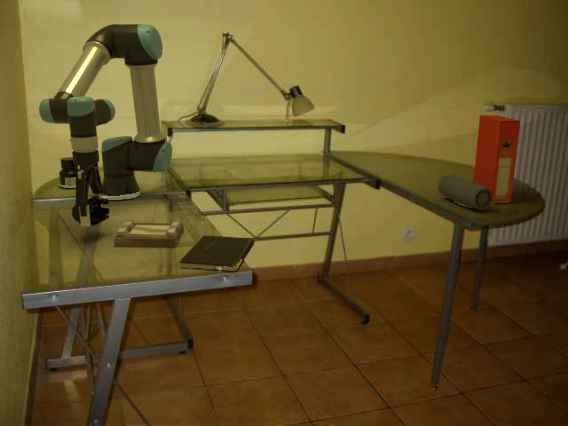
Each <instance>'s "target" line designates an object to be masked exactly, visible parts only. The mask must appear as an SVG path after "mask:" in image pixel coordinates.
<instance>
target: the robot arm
mask: <svg viewBox="0 0 568 426" xmlns="http://www.w3.org/2000/svg"><path fill="white" fill-rule="evenodd" d="M163 50H164V47H163V41H162V36H161V34H160V32H159V30H158V29H157V28H156V27H155V26H154V25H151V24H142V23H130V24H129V23H127V24H126V23H123V24H121V23H120V24H119V23H113V24H108V25H105V26H103V27H102V28H100V29H98V30H97V31H96V32H94V33H93V34H92V35H91V36H90V37H89V38H88V39H87V40H86V42H85V43H84V44H83V47H82V54H81V55H80V57H79V58H78V60H77V61H76V63H75V64H74V66H73V67H72V69H71V70H70V72H69V74H68V75H67V77H66V78H65V79H64V81H63V83H62V84H61V86H60V88H59V89H58V90H57V92H56V93H55V95H54V97H53V98H51V97H49V98H44V99H41V101H40V103H39V106H38V113H39V116H40V118H41V120H42V121H43V122H45V123H48V124H61V125H63V124H65V125H69V133H70V138H69V139H68V140H69V142H70V143H71V149H72V150H73V151H72V152H71V155H72V156H71V157H73V163H74V164H76V165H78V166H79V167H78V168H79V172H76V173H75V176H76V188H75V205H76V206H79V211H80V221H81V224H80V227H92V226H91V222H90V212H89V205H87V203H88V199H89V194H90V193H89V191H90V190H91V193H92V194H91V196H90V197H93V196H98V199H102V198H101V195H107V196H120V195H125V194H132V193H136V192H139V191H140V192H141V188H140V186H139V183H138V181H137V179H136V175H135V172H147V173H148V172H149V173H163V172H166V171H167V170H168V169H169V167H170V165H171V162H172V156H173V146H172V143H171V142H169V141H167V140H166V135H165V134H164V133H162V131H161V123H160V122H161V121H160V112H159V111H160V110H159V103H158V94H157V83H156V72H155V67H157V66H158V64H159V61H158V60H159V59H162V56H163ZM113 59H123V60H124V65H125V66H126V68H128V69H129V72H130V81H131V82H130V83H131V90H132V91H131V92H132V100H133V105H134V106H133V107H134V117H135V123H136V125H135V126H136V135H135V136H134V137H133V136H131V135H121V136H114V137H110V138H106V139H103V141H102V142H101V160H102V172H103V180H102V179H101V175H100V169H99V162H100V152H99V150H98V148H99V140H98V134H97V133H98V132H97V127H98V126H102V125H106V124H108V123H110V122H111V121H112V120H114V118H115V116H116V107H115V105H114V104H113V103H112V102H111V101H110V100H109V99H107V98H98V99H94V98H93V97H92V96H86V94H87V93H88V90H89V89H90V88H91V86H92V84H93V83H94V81H95V80H96V78H97V76H98V75H99V73H100V71H101V70H102V68H103V66H106V65H107V64H108V63H109V62H110V61H111V60H113ZM75 205H74V206H75ZM102 205H103V204H101V207H102V208H103V206H102Z"/></svg>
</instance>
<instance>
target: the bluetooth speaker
mask: <svg viewBox="0 0 568 426" xmlns="http://www.w3.org/2000/svg"><path fill="white" fill-rule="evenodd" d="M437 189H438V192H439V193H440V194H441V195H442V196H445V197H446V198H449V199H450V200H452V201H453V200H454V201H456V202H459V203H461V204H464V205H466V206H469V207H472V208H471V209H476V210H479V211H481V210H486V209H488V208H489V207H490V206H491V205H492V204H491V203H492V200H493V195H492V192H491V190H490V189H488V188H486V187H484V186H482V185H480V184H477V183H475V182H473V181H472V180H469V179H468V178H467V179H466V178H463V177H460V176H456V175H452V174H445V175H443V176H442V177H441V178H440V180H439V182H438V184H437Z"/></svg>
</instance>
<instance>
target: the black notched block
mask: <svg viewBox="0 0 568 426" xmlns="http://www.w3.org/2000/svg"><path fill="white" fill-rule="evenodd" d="M101 204H102V205H107V206H108V205H110V200H108V199H102V198H101V199H98V196H93V197H92V196H90V197H88V203H87V205H89V212H90V222H91V226H90V227H95V226H97V225H99V224H101V223H102V222H104V221H106V220H108V219H109V218H110V212H111V210H110V208H109V207H103V206H102V207H101ZM71 217H72V218H73V220H74V221H75V222H76V223H78V224H79V225H81V221H80V211H79V206H76V205H74V206H73V207H72V209H71Z"/></svg>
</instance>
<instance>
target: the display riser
mask: <svg viewBox="0 0 568 426" xmlns="http://www.w3.org/2000/svg"><path fill="white" fill-rule="evenodd" d="M181 221H182V220H173V222H135V221H134V219H127V220H125V222H124V223H123V224H122V225H121V227H120V228H119V229H118V230H117V231H116V236H115V237H114V238H113V247H114V248H115V247H116V248H118V247H120V248H121V247H122V248H123V247H124V248H127V247H128V248H176V246H177V243H179V241H180V238H181V236H183V233H184V231H185V229H184V226H185V225H184V224H185V223H183V222H181Z"/></svg>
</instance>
